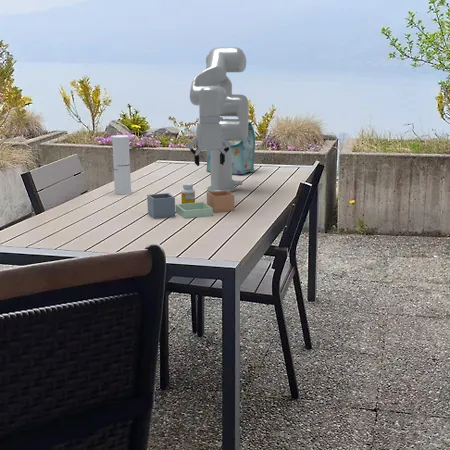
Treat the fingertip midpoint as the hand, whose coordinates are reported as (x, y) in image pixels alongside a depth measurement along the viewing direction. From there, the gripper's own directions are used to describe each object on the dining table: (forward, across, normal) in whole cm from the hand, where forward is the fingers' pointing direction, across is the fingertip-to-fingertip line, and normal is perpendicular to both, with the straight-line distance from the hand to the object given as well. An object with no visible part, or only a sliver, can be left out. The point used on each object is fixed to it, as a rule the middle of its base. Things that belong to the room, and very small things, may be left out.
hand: (209, 164), depth 262 cm
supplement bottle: (+18, +7, -6) cm, 21 cm away
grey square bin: (+18, +20, +5) cm, 28 cm away
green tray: (+18, +8, +7) cm, 21 cm away
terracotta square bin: (+18, -4, +2) cm, 19 cm away
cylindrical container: (+18, +29, -42) cm, 54 cm away
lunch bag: (+17, -29, -77) cm, 84 cm away
